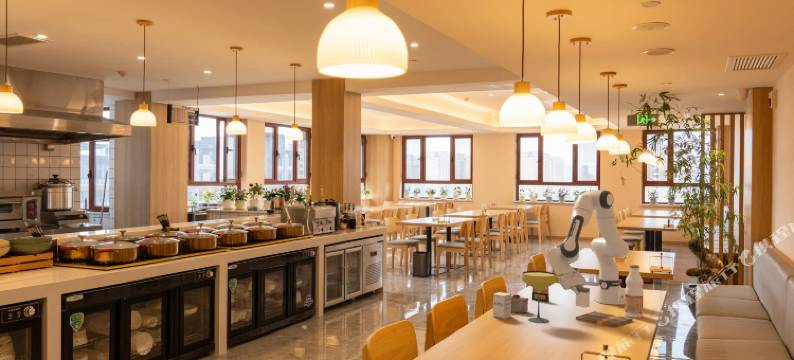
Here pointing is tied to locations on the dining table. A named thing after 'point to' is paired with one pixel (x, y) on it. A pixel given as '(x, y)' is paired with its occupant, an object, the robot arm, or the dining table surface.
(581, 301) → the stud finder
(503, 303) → the supplement box
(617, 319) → the board
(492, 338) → the dining table surface
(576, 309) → the dining table surface
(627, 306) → the fruit juice
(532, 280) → the cocktail glass
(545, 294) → the thin brown box
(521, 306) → the food item
